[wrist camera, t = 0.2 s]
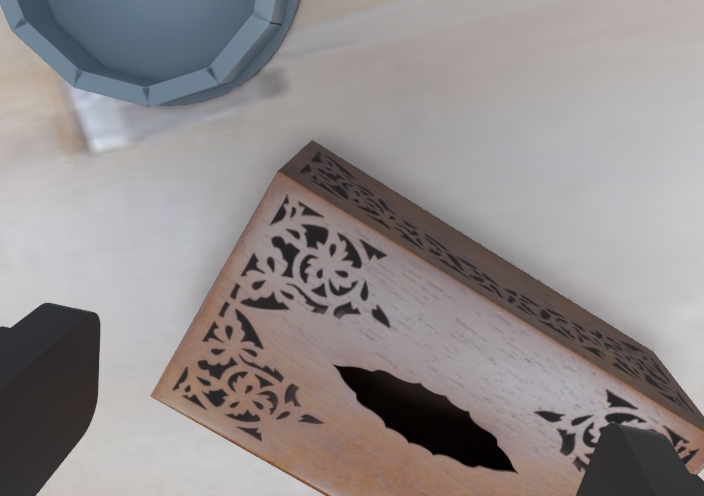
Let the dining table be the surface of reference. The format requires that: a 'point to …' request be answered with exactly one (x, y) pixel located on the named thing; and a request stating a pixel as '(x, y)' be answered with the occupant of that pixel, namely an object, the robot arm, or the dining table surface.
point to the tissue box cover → (406, 353)
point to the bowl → (153, 44)
